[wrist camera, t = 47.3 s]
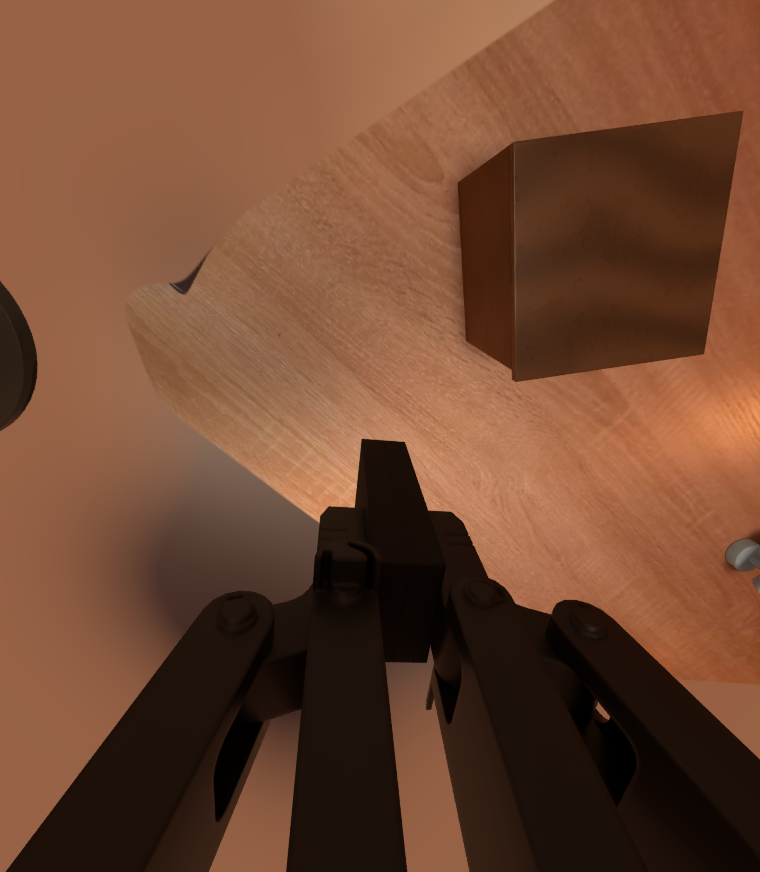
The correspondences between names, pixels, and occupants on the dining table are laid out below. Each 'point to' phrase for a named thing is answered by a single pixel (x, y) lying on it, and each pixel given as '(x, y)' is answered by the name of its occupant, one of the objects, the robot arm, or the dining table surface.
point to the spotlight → (745, 557)
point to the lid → (617, 243)
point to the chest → (487, 257)
